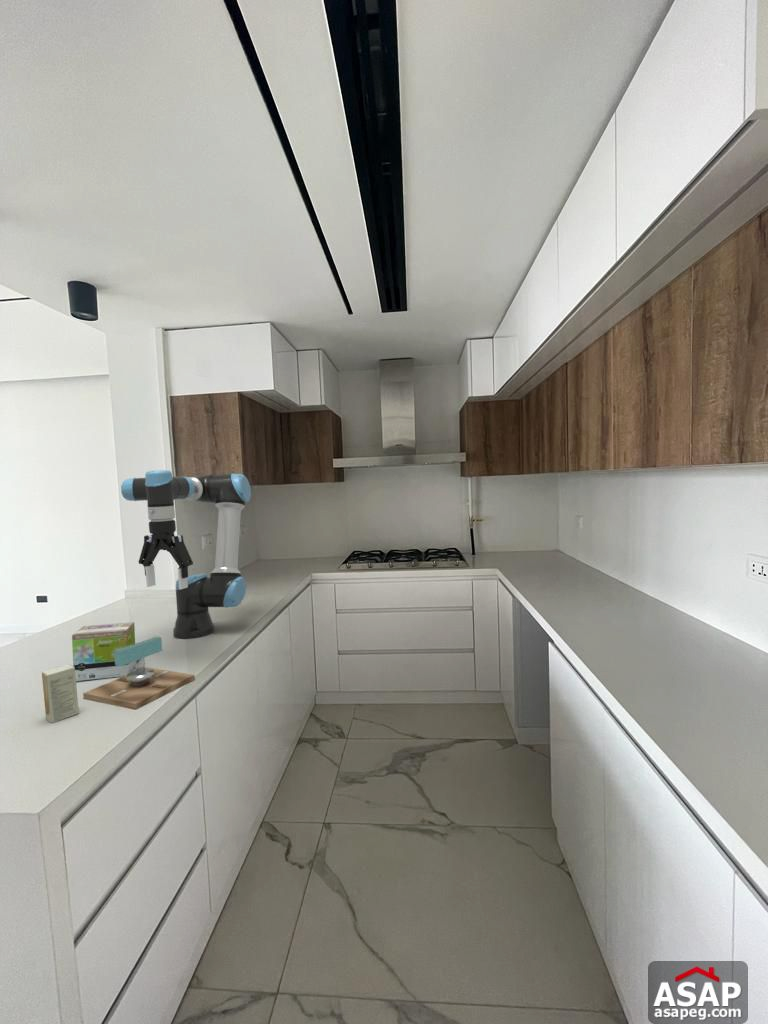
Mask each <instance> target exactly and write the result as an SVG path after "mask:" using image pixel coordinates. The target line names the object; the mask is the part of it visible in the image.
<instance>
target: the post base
mask: <svg viewBox="0 0 768 1024" xmlns="http://www.w3.org/2000/svg"><path fill="white" fill-rule="evenodd" d="M145 669H153V670H154V677H152V678H151V679H148V680H145V681H141V682H128V681H127V675H126V676H123V677H117V678H116V679H114V680H112V681H110V682H107V683H105V684H102V685H99V686H98V687H94V688H93V689H90V690H88V691H85V692H83V693H82V697H83V699H84V700H87V701H93V702H98V703H103V704H107V705H111V706H117V707H118V706H119V707H121V706H122V708H126V707H127V708H128V709H131V710H138V709H139V707H140V708H141V707H143V705H144V706H146V705H147V704H149V703H151V702H153V701H155V700H158V699H159V698H161V697H163V696H165V695H167V694H169V693H171V692H174V691H176V690H177V689H179V688H181V687H184V686H185V685H187V684H189V683H190V682H193V681H195V678H196V677H195V674H193V673H192V674H191V673H185V672H179V671H172V670H166V669H161V668H154V667H153V668H152V667H147V666H145Z"/></svg>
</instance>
